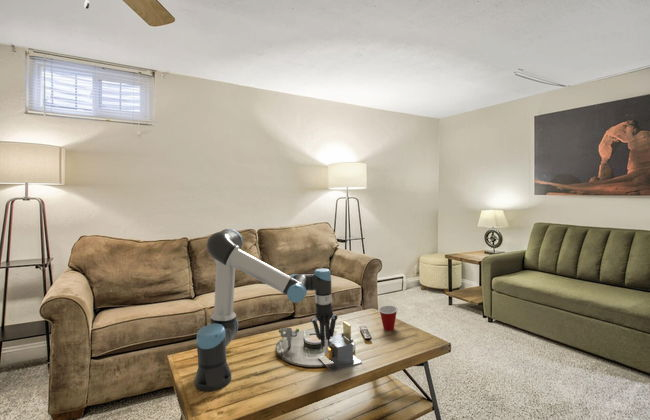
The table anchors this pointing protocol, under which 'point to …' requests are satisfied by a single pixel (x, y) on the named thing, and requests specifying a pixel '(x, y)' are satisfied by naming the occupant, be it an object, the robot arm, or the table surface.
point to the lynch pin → (331, 352)
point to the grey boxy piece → (342, 353)
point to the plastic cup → (388, 317)
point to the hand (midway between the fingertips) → (325, 352)
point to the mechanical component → (288, 334)
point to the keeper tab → (346, 330)
